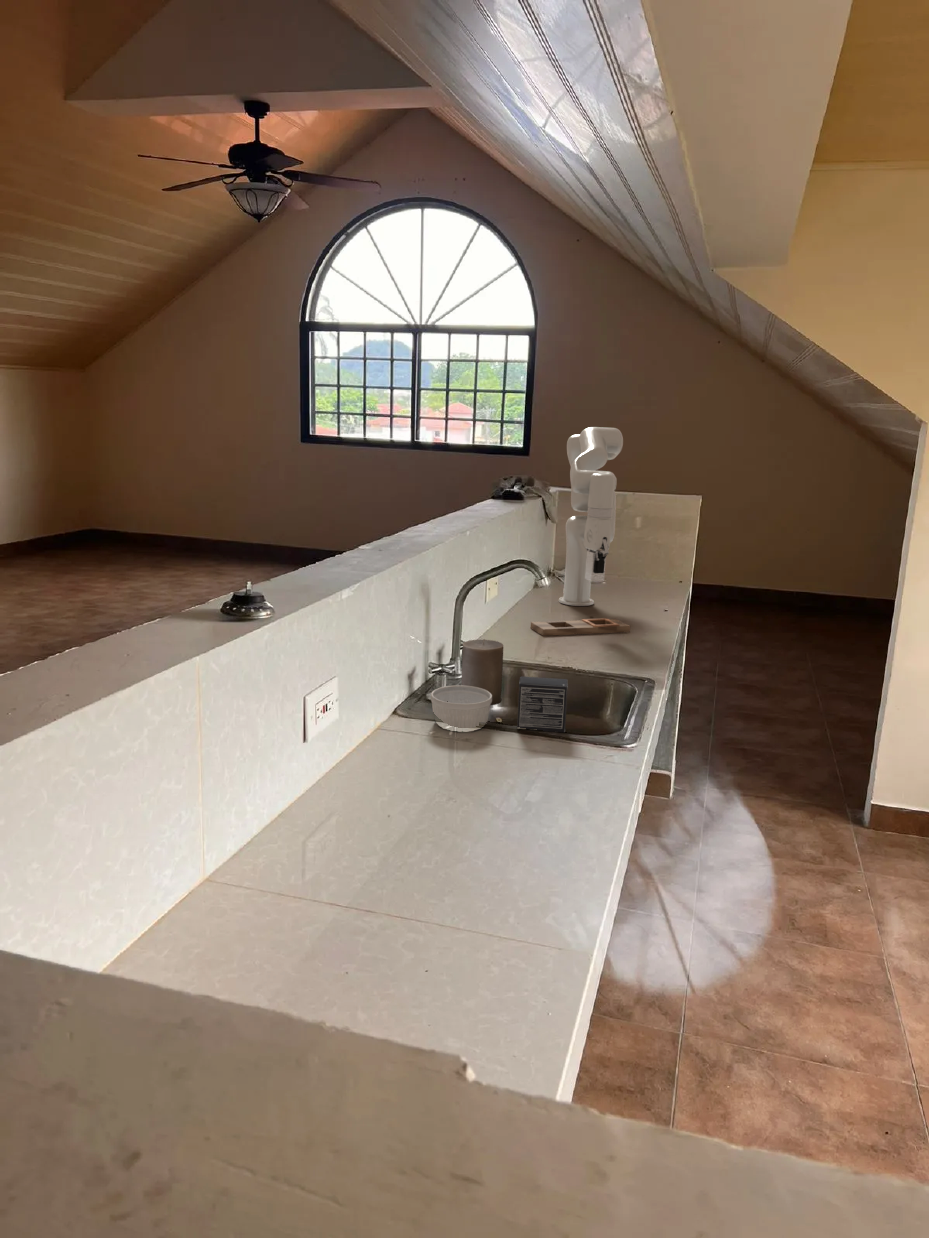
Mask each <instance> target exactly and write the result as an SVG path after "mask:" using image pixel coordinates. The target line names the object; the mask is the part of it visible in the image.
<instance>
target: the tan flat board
mask: <svg viewBox="0 0 929 1238" xmlns="http://www.w3.org/2000/svg"><path fill="white" fill-rule="evenodd" d="M530 629H531V630H533V631H535V632H536V633H538V634H539V635H541V636H548V637H549V636H567V635H588V634H593V635H594V634H614V633H616V634H618V633H631V625H630V624H627V623H625V622H624V621H621V620H619V619H617V618H607V617H606V618H584V619H583V618H582V619H578V620H577V619H576V620H574V619H573V620H550V621H548V620H547V621H530Z"/></svg>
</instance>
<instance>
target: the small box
mask: <svg viewBox="0 0 929 1238" xmlns="http://www.w3.org/2000/svg"><path fill="white" fill-rule="evenodd" d="M518 682H519V684H518V701H517V703H518V704H517V705H518V706H517V707H518V708H517V723H516V724H517V726H516V728H517V727H520V728H526V729H537V730H543V731H542V732H549V733H550V732H551V733H552V732H553V733H565V732H566V722H567V707H568V706H567V705H568V704H567V703H568V688H569V686H568V685H569V684H568V679H567V678H554V677H553V678H552V677H551V678H550V677H535V676H520V677H519V681H518Z"/></svg>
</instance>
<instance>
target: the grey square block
mask: <svg viewBox="0 0 929 1238" xmlns="http://www.w3.org/2000/svg"><path fill="white" fill-rule="evenodd" d="M599 555H600V553H599ZM595 560H596V551H587V559H586V573H585V579H587V580H589V581H591V582H605V575H606V564H607V561H606V560H607V559H606V560H605V565H604V573H594V564H595Z"/></svg>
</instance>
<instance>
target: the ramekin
mask: <svg viewBox="0 0 929 1238" xmlns="http://www.w3.org/2000/svg"><path fill="white" fill-rule="evenodd" d="M430 701H431V707H432V713H433V712H434V714H435V715H436V716H437V717H438V718H439V719H441V720H442V721H443V722H444V723H447V724H448V725H450V726H454V727H458V728H475V727H476V726H479V722H487V723H488V720H489V716H490V710H491V705H490V704H491V703H492V694H491V693H490V692H488V691H487V690H485V689H482V688H478V687H473V686H464V685H462V684H460V685H459V684H457V685H446V686H441V687H439V688H436V689H434V690H432V692H431V693H430ZM447 701H448V702H447Z"/></svg>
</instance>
